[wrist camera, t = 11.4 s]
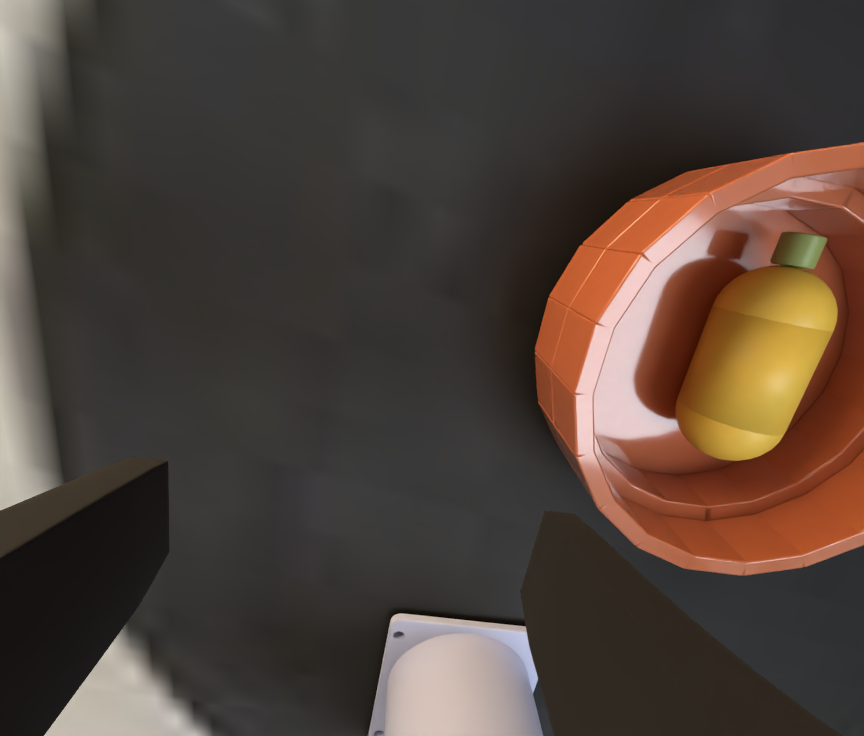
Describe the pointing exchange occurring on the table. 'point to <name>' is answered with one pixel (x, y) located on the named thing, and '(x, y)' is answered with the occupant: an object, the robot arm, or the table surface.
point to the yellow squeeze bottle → (758, 353)
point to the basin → (672, 354)
